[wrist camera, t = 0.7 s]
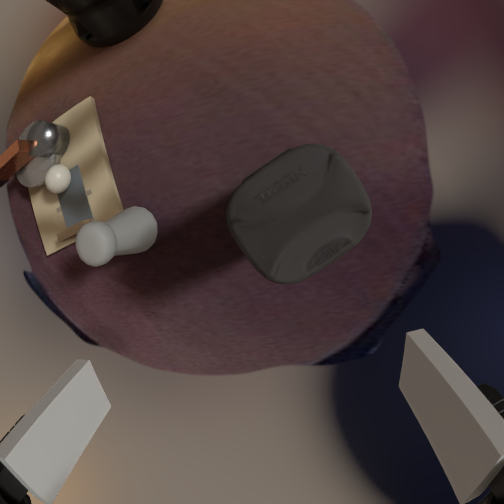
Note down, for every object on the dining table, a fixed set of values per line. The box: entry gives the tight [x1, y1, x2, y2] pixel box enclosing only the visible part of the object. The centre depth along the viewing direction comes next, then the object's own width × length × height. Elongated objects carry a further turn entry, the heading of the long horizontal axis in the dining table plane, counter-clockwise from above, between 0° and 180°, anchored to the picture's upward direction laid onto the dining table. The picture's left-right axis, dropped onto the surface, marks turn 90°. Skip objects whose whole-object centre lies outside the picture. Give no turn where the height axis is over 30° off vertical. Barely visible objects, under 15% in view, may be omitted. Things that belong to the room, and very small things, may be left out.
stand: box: [28, 97, 123, 256], centre depth 33 cm, size 19×16×4 cm
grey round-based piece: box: [0, 121, 70, 187], centre depth 29 cm, size 10×16×7 cm, turn 108°
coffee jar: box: [226, 144, 372, 284], centre depth 25 cm, size 10×8×19 cm
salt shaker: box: [75, 206, 158, 267], centre depth 29 cm, size 6×6×13 cm
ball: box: [45, 164, 71, 193], centre depth 31 cm, size 4×4×4 cm
